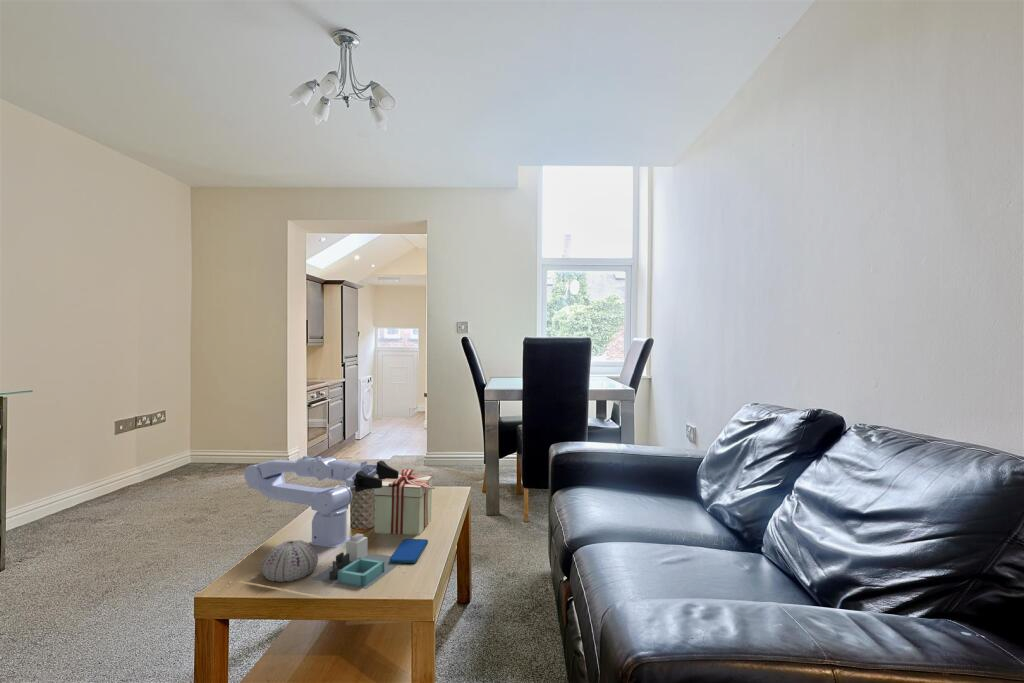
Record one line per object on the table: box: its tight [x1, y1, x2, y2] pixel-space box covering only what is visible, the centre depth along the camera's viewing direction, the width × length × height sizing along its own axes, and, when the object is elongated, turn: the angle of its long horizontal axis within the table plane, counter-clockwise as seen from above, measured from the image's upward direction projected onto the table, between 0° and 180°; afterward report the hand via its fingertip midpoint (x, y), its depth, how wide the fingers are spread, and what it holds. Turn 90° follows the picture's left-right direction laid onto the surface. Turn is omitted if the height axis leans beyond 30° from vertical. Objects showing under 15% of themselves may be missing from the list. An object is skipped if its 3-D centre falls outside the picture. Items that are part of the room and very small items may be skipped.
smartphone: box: [390, 538, 429, 564], centre depth 138 cm, size 7×1×15 cm
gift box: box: [373, 469, 436, 536], centre depth 160 cm, size 17×18×17 cm
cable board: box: [311, 552, 401, 590], centre depth 128 cm, size 16×18×4 cm
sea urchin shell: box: [260, 539, 319, 583], centre depth 126 cm, size 13×14×8 cm
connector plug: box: [345, 532, 368, 562], centre depth 135 cm, size 4×4×6 cm
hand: (389, 479), depth 140 cm, fingers open, 7 cm apart
